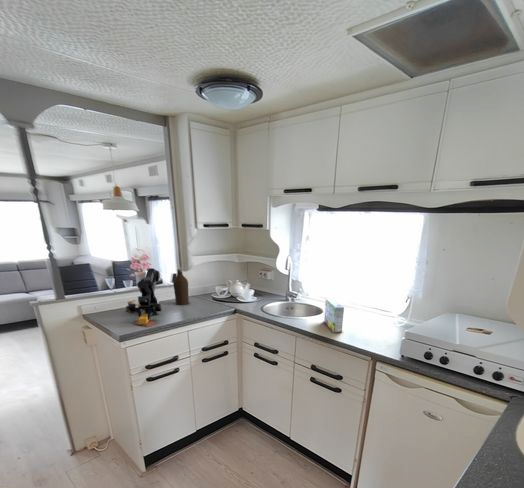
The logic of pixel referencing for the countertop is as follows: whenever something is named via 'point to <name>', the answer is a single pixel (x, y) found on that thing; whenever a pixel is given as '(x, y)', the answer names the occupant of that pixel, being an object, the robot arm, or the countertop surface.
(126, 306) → the tower
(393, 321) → the countertop surface
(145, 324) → the mat
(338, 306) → the snack box
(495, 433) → the countertop surface
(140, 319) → the bar
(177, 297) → the olive oil
